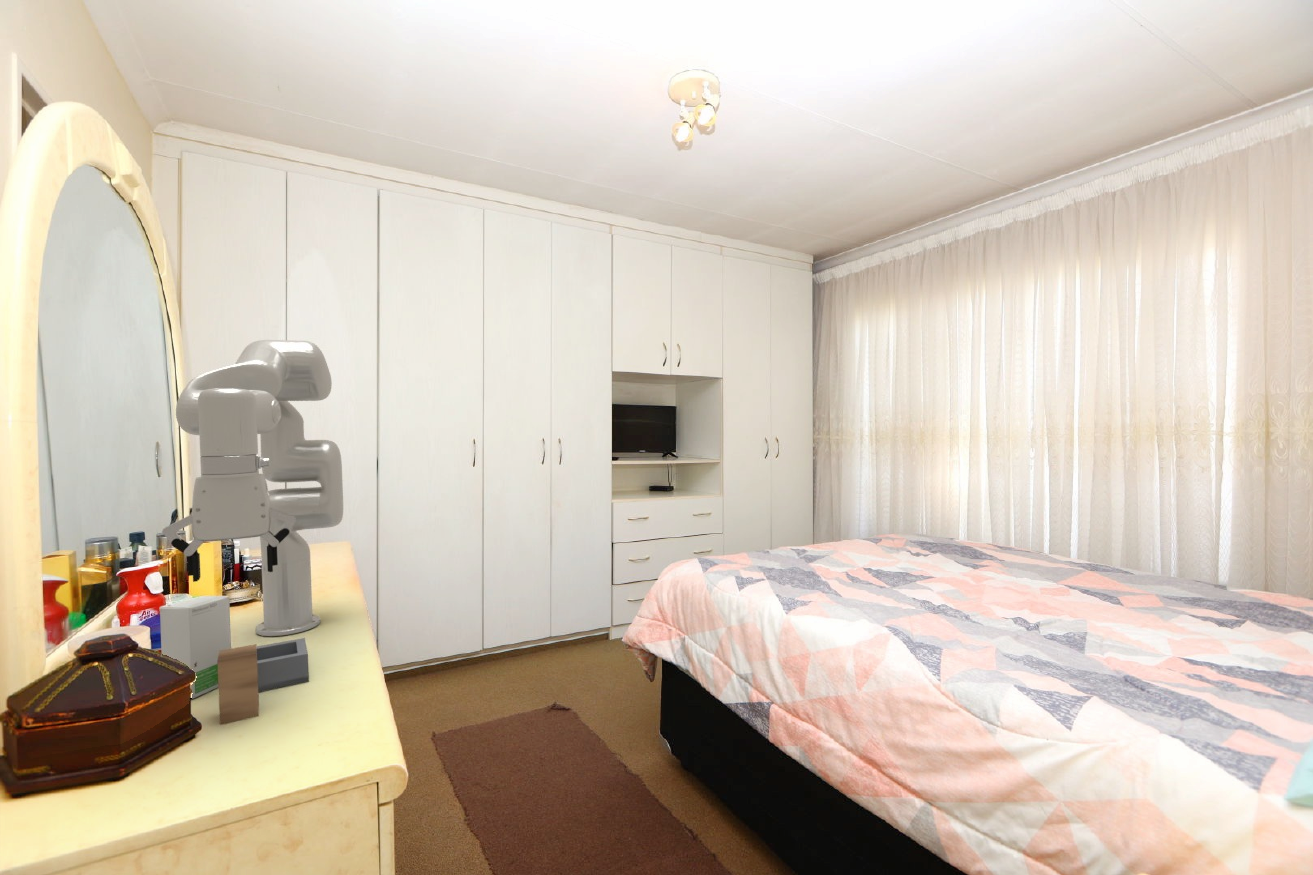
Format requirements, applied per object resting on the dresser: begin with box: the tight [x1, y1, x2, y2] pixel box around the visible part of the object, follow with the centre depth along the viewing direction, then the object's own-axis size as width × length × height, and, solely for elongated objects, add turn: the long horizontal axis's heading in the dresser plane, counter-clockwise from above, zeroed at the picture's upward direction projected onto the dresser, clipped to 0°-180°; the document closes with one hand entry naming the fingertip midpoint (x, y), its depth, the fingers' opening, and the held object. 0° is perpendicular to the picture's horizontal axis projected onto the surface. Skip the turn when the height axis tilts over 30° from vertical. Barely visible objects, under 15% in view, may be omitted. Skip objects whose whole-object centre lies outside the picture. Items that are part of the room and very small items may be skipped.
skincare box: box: [159, 595, 232, 700], centre depth 108 cm, size 8×7×16 cm
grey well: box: [257, 637, 310, 693], centre depth 112 cm, size 10×10×5 cm
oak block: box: [217, 643, 260, 726], centre depth 98 cm, size 5×5×10 cm
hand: (234, 574), depth 98 cm, fingers open, 9 cm apart
